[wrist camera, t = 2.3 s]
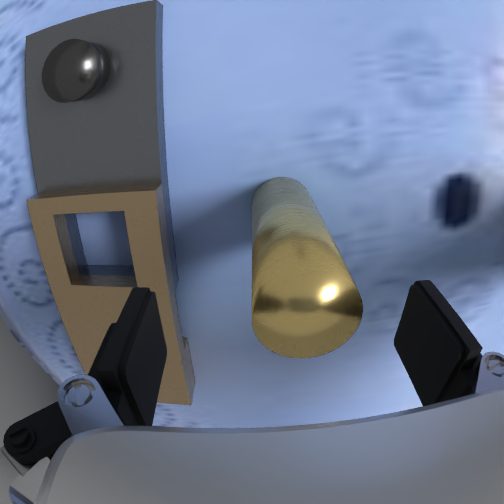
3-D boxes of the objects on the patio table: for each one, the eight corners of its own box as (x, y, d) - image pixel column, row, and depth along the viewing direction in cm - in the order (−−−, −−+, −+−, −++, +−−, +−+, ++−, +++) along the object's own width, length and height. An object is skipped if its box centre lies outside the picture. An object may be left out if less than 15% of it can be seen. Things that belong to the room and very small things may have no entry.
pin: (322, 195, 22) (383, 299, 11) (290, 242, 23) (318, 369, 13) (271, 165, 21) (293, 250, 10) (241, 215, 22) (231, 335, 12)
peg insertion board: (162, 5, 16) (138, -17, 11) (195, 381, 30) (188, 422, 26) (37, 37, 16) (-5, 33, 11) (104, 373, 30) (89, 408, 26)
